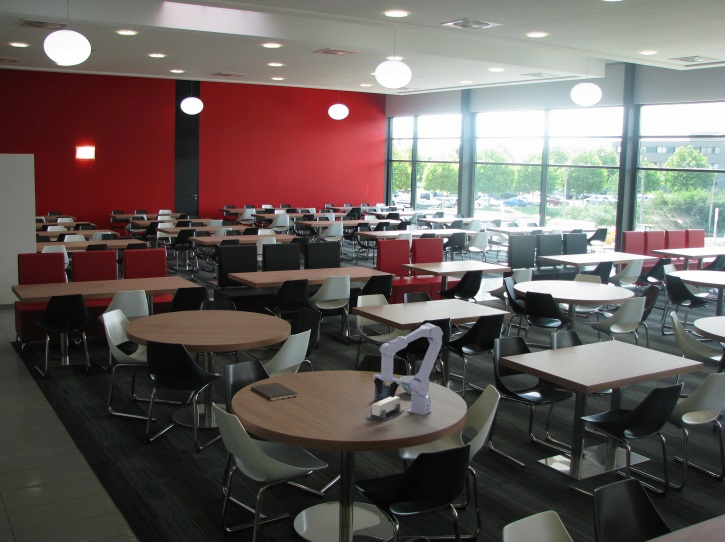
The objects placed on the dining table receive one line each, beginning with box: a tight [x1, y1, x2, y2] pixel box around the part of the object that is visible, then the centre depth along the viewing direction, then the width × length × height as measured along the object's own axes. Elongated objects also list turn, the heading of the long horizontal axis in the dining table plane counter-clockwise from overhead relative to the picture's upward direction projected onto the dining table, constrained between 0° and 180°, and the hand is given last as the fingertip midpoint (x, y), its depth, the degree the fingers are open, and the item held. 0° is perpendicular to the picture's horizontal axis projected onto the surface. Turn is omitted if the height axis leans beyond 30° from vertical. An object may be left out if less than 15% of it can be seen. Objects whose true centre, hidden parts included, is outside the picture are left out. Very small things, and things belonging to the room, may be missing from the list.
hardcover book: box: [250, 382, 299, 402], centre depth 387 cm, size 16×23×2 cm
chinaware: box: [399, 375, 415, 395], centre depth 393 cm, size 15×15×8 cm
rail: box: [371, 395, 401, 416], centre depth 355 cm, size 4×18×5 cm, turn 145°
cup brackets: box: [366, 402, 405, 423], centre depth 355 cm, size 8×20×5 cm, turn 145°
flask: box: [373, 380, 391, 402], centre depth 378 cm, size 9×3×11 cm, turn 65°
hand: (386, 395), depth 354 cm, fingers open, 7 cm apart
